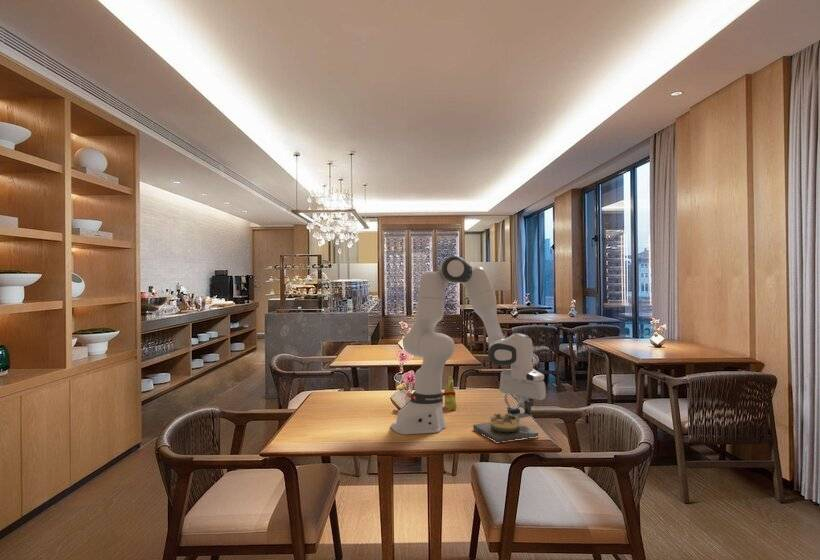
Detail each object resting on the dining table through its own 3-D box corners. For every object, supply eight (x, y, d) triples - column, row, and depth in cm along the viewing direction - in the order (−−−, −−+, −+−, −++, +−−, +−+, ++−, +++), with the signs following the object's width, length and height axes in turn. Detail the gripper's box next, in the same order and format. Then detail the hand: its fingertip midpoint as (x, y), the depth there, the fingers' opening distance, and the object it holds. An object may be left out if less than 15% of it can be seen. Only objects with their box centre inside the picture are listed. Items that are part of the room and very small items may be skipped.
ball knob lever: (503, 433, 179) (503, 410, 179) (484, 426, 188) (484, 404, 188) (540, 426, 188) (540, 404, 188) (520, 419, 197) (520, 398, 197)
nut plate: (497, 443, 174) (497, 437, 174) (473, 429, 191) (473, 424, 191) (538, 437, 181) (538, 431, 181) (511, 424, 198) (511, 419, 198)
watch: (524, 417, 209) (524, 392, 209) (506, 417, 208) (506, 392, 208) (521, 413, 214) (521, 389, 214) (503, 413, 214) (503, 389, 214)
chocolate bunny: (452, 404, 230) (452, 373, 230) (458, 410, 219) (458, 378, 219) (438, 405, 229) (438, 374, 229) (443, 411, 218) (443, 378, 218)
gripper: (496, 370, 200) (496, 403, 200) (539, 378, 185) (539, 413, 185) (505, 368, 204) (505, 400, 204) (547, 375, 189) (547, 410, 189)
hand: (521, 406), depth 195 cm, fingers closed
